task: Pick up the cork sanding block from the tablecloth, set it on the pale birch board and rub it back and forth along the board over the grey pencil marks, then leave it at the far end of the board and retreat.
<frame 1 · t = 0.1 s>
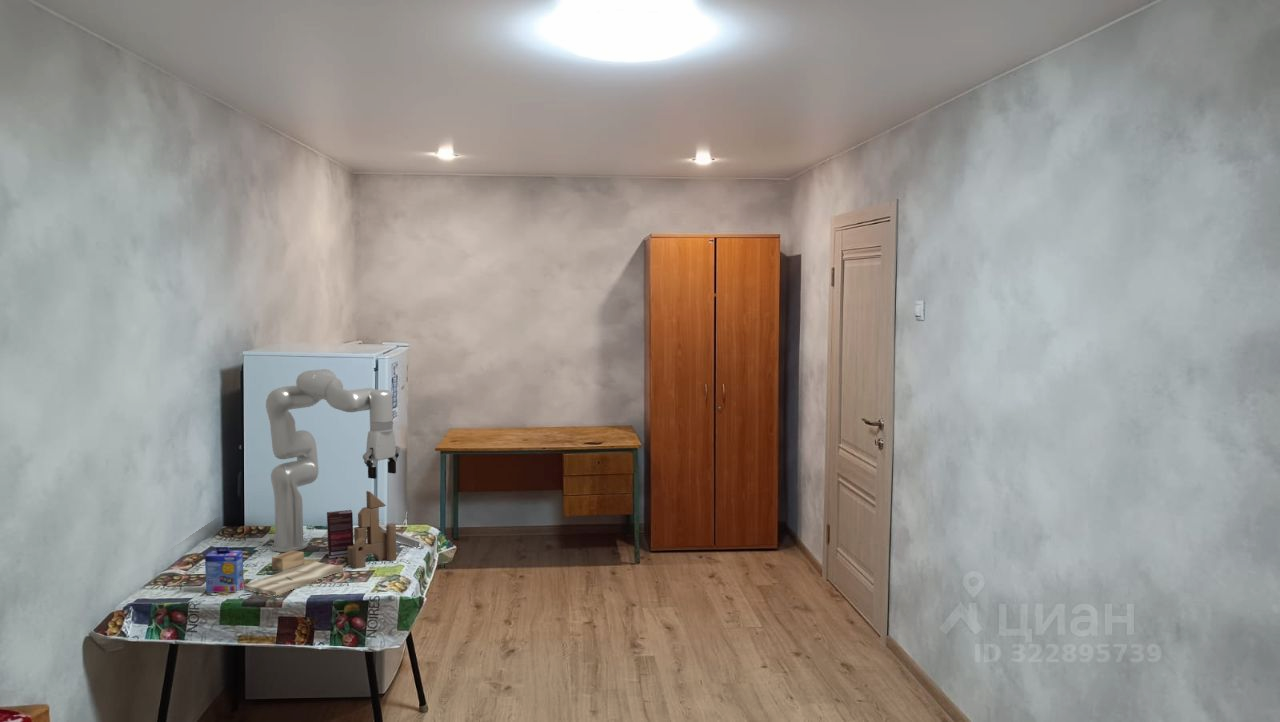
hand: (382, 475, 299), 31 cm above the table, tool pointing down, fingers open, 9 cm apart
ink cartridge box: (224, 591, 274), on the table
wrench: (394, 544, 327), on the table
wooden toy: (372, 563, 303), on the table
board: (295, 580, 284), on the table
supplement box: (340, 556, 311), on the table
sanding block: (288, 568, 296), on the table
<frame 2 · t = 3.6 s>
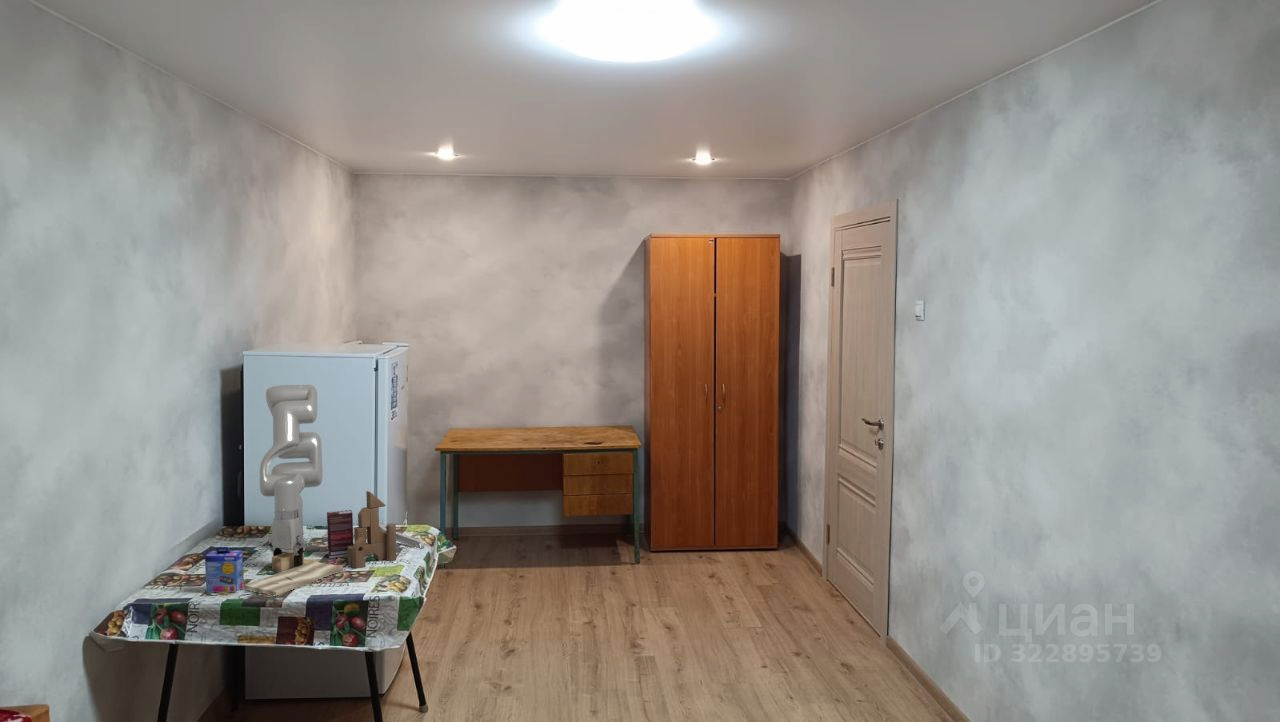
hand: (288, 564, 296), 2 cm above the table, tool pointing down, fingers open, 9 cm apart
nothing on the table moved.
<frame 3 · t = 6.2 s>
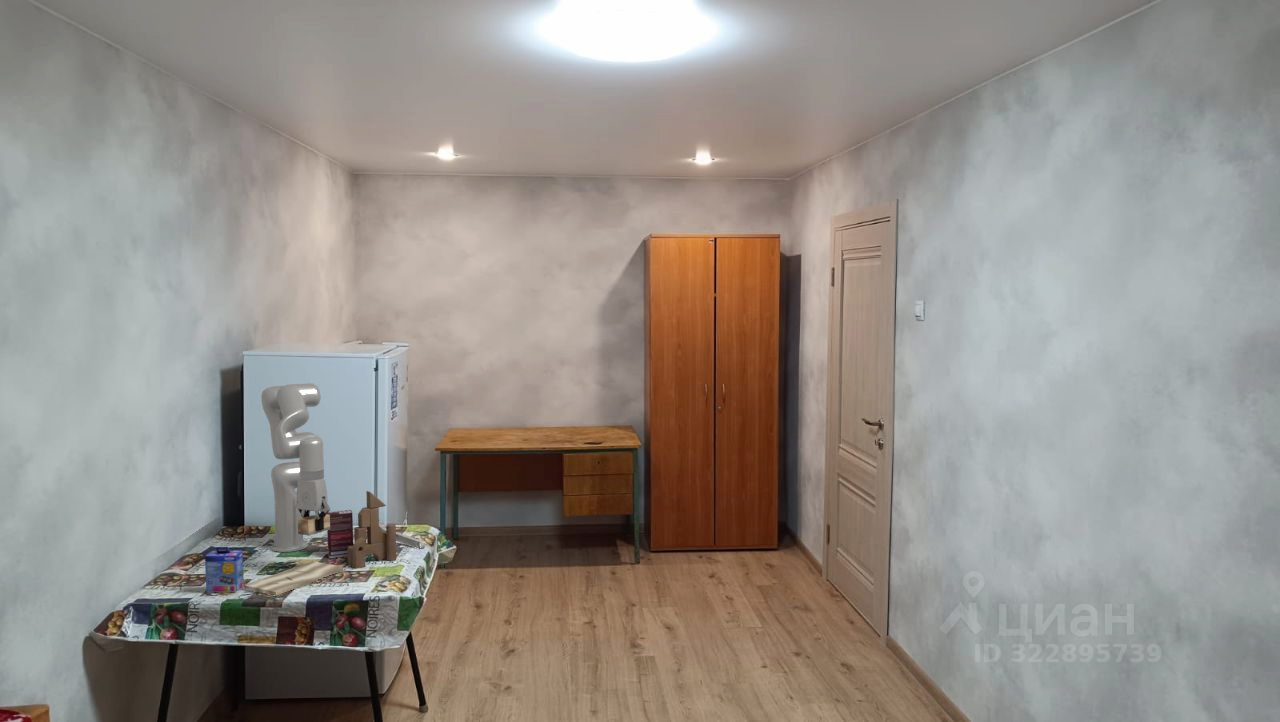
hand: (313, 528, 291), 15 cm above the table, tool pointing down, fingers closed on sanding block, 5 cm apart
sanding block: (314, 531, 291), point 14 cm above the table, touching gripper
everything else where it was.
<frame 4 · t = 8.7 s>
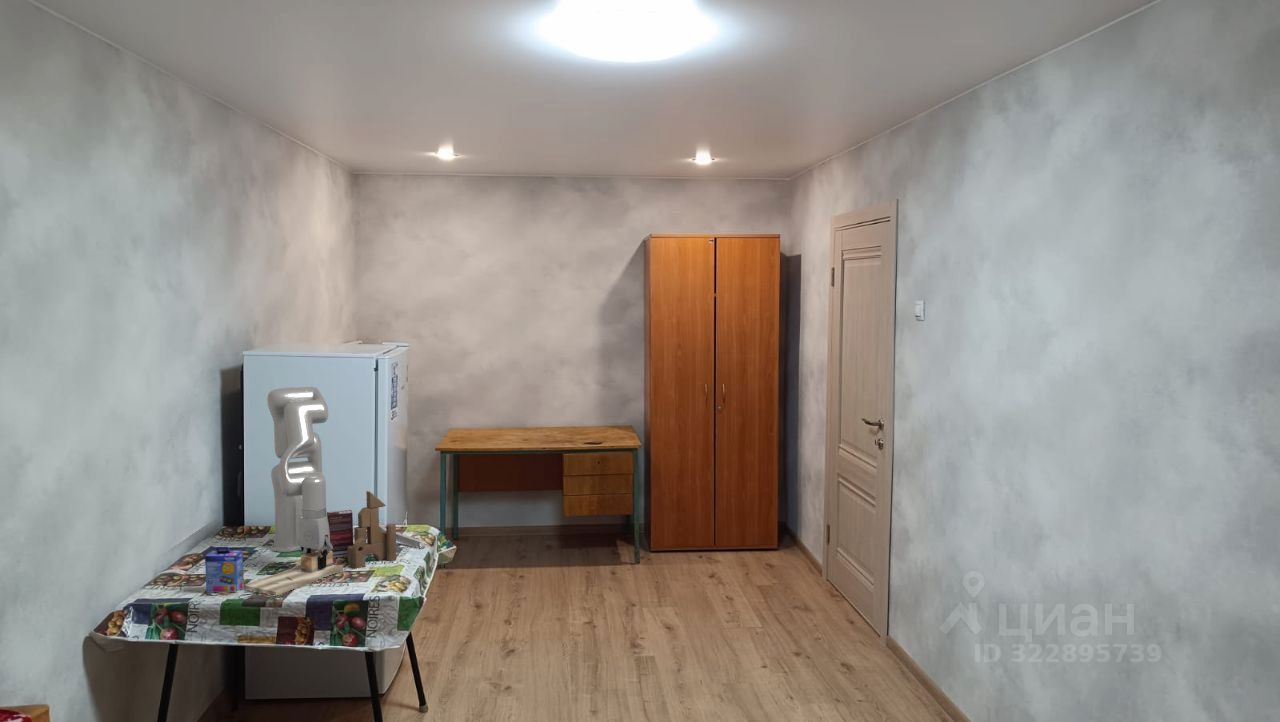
hand: (315, 566, 291), 2 cm above the table, tool pointing down, fingers closed on sanding block, 5 cm apart
sanding block: (317, 568, 292), point 2 cm above the table, touching gripper
everything else where it was.
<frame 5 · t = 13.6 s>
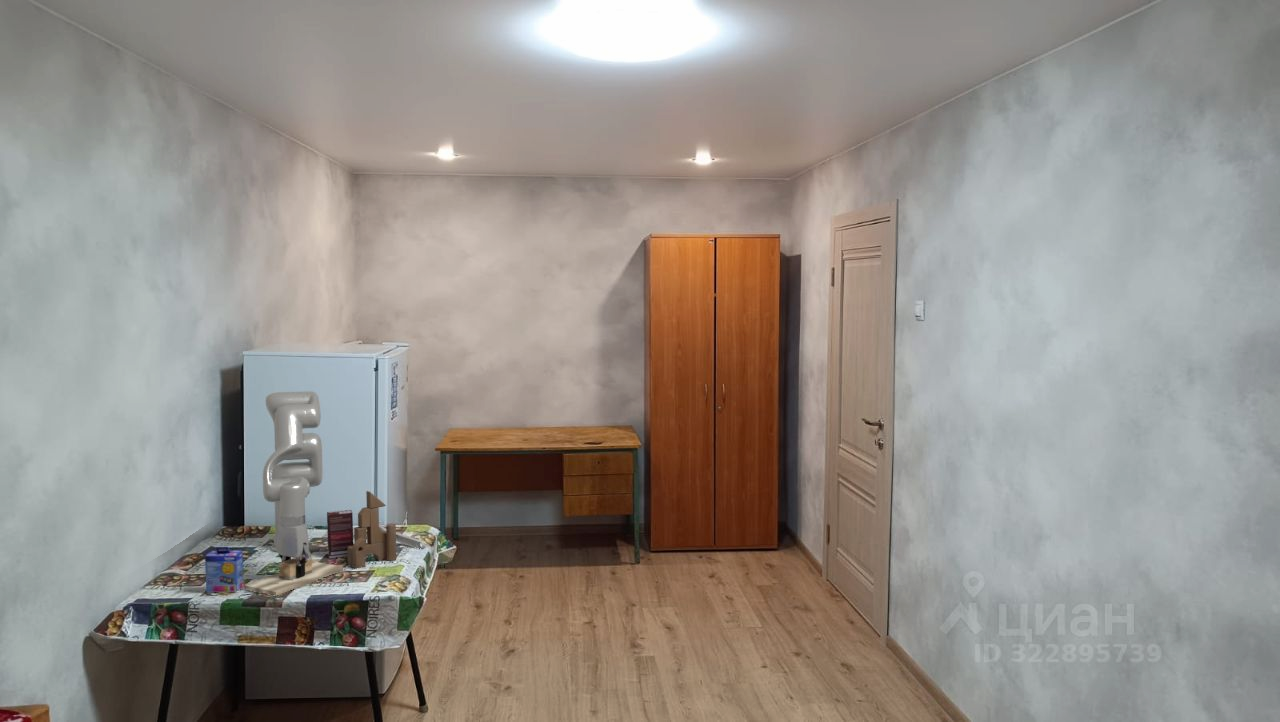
hand: (294, 574, 283), 2 cm above the table, tool pointing down, fingers closed on sanding block, 5 cm apart
sanding block: (295, 575, 284), point 2 cm above the table, touching gripper
everything else where it was.
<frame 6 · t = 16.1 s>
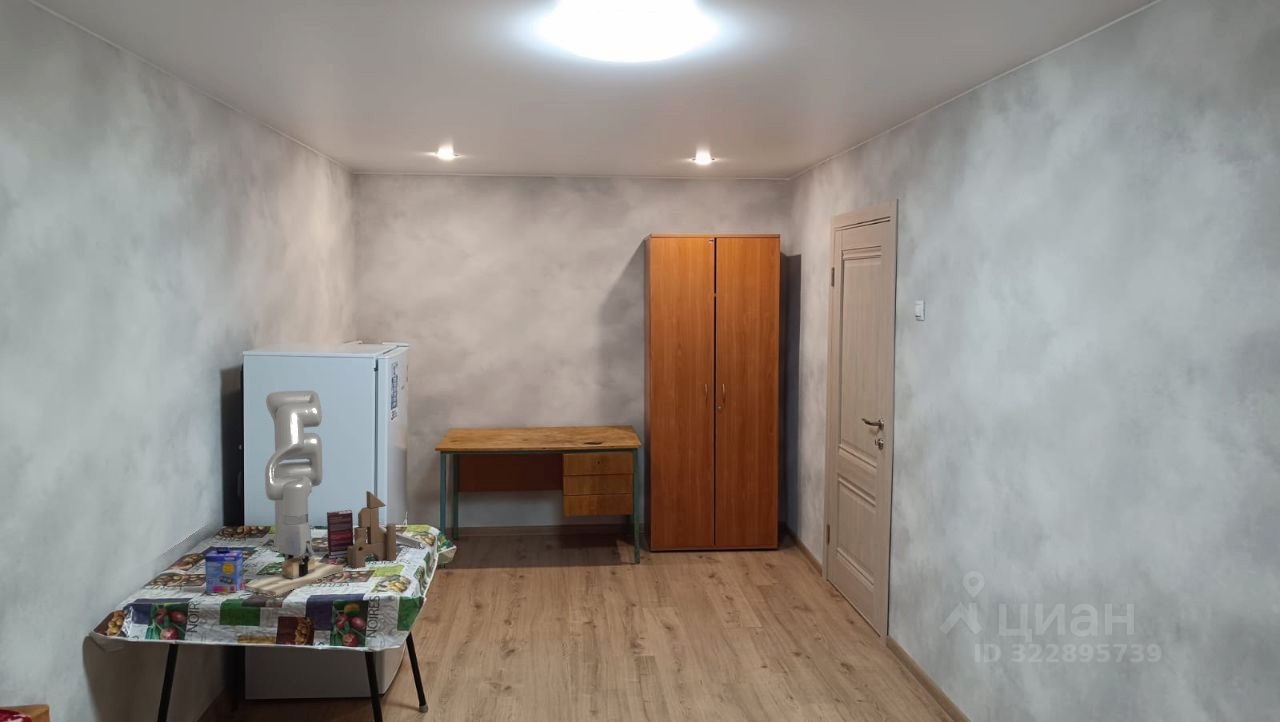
hand: (297, 573, 284), 2 cm above the table, tool pointing down, fingers closed on sanding block, 5 cm apart
sanding block: (298, 573, 285), point 2 cm above the table, touching gripper
everything else where it was.
when the fingers open (2 cm above the table, at t = 18.4 s): sanding block stays where it is, resting on board.
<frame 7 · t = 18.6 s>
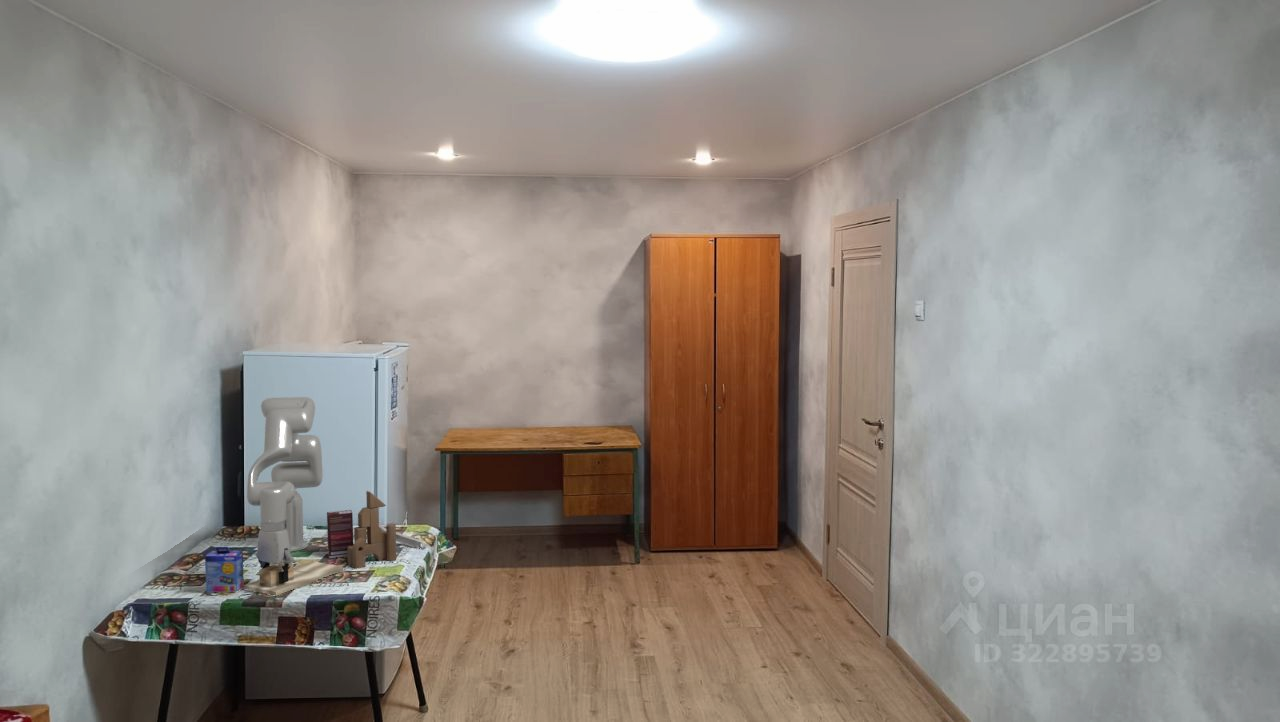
hand: (275, 580, 276), 2 cm above the table, tool pointing down, fingers open, 6 cm apart
sanding block: (276, 582, 277), point 1 cm above the table, touching board
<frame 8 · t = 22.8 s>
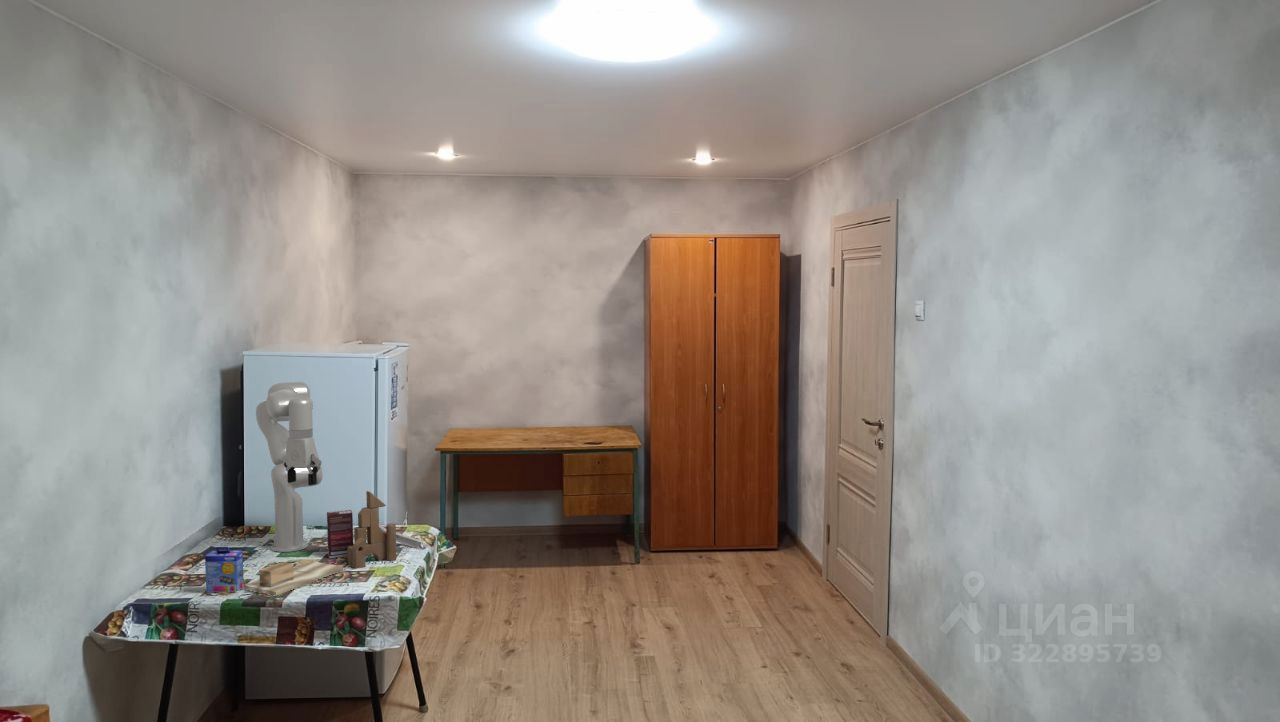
hand: (302, 483, 299), 28 cm above the table, tool pointing down, fingers open, 9 cm apart
at the end: sanding block inside the target area on the board (1.3 cm from its centre), point 1.5 cm above the board's base; sanding block tilted 0°; the gripper is holding nothing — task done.
